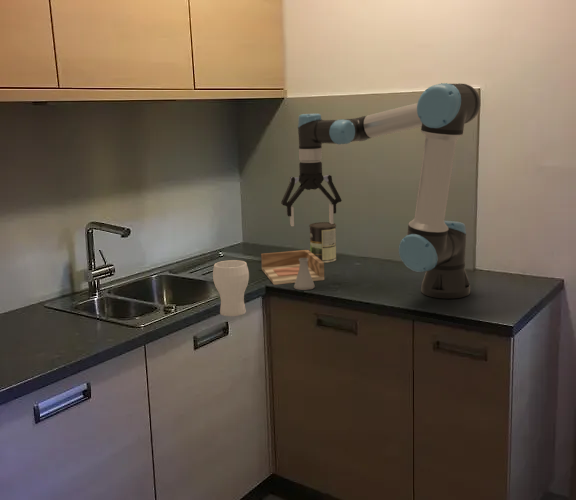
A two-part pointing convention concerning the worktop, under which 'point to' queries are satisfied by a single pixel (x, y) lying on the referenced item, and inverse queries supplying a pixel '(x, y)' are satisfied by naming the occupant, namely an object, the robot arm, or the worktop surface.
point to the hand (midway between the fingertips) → (311, 224)
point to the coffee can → (323, 241)
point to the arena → (290, 266)
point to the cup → (231, 286)
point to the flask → (304, 276)
